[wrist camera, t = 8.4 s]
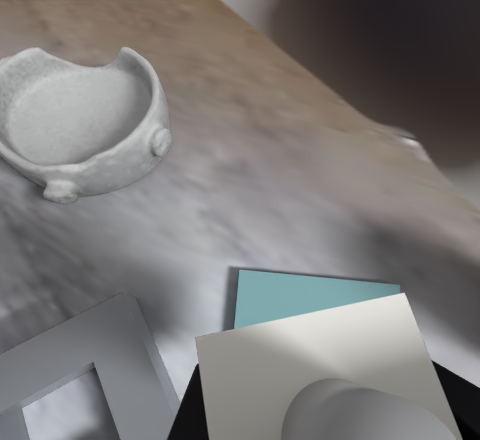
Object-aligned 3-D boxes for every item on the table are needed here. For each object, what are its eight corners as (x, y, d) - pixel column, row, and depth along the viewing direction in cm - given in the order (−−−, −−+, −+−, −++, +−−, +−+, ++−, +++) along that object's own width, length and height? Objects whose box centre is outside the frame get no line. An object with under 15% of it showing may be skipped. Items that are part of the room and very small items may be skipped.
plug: (326, 422, 14) (697, 717, 3) (232, 446, 14) (248, 904, 2) (300, 323, 16) (476, 271, 5) (215, 341, 15) (179, 333, 4)
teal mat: (414, 480, 19) (421, 486, 18) (221, 462, 19) (221, 467, 18) (394, 286, 23) (399, 284, 23) (239, 271, 23) (239, 269, 23)
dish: (7, 100, 29) (-34, 54, 24) (150, 65, 31) (136, 17, 27) (27, 234, 24) (-20, 208, 20) (194, 181, 27) (187, 146, 22)
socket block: (209, 473, 19) (206, 496, 16) (7, 611, 16) (-39, 667, 13) (136, 298, 22) (123, 291, 20) (-38, 387, 20) (-81, 395, 17)
